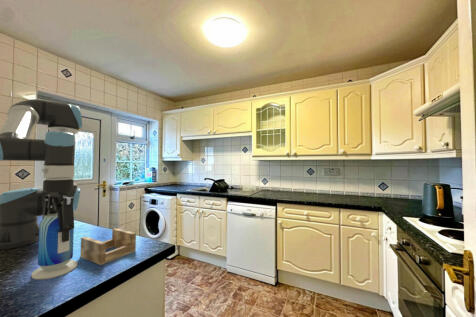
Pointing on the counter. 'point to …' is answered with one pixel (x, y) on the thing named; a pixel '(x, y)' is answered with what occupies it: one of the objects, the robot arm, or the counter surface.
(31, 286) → the counter surface
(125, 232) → the oak holder
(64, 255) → the beer can
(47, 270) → the trivet
